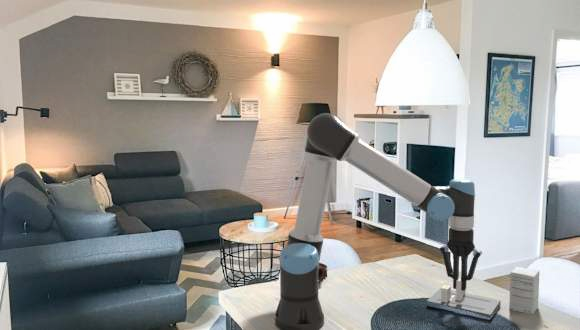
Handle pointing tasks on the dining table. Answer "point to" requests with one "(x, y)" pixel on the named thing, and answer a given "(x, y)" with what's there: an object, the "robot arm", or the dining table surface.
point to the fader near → (445, 293)
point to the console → (469, 303)
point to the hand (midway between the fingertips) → (459, 299)
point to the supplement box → (524, 290)
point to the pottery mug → (322, 272)
